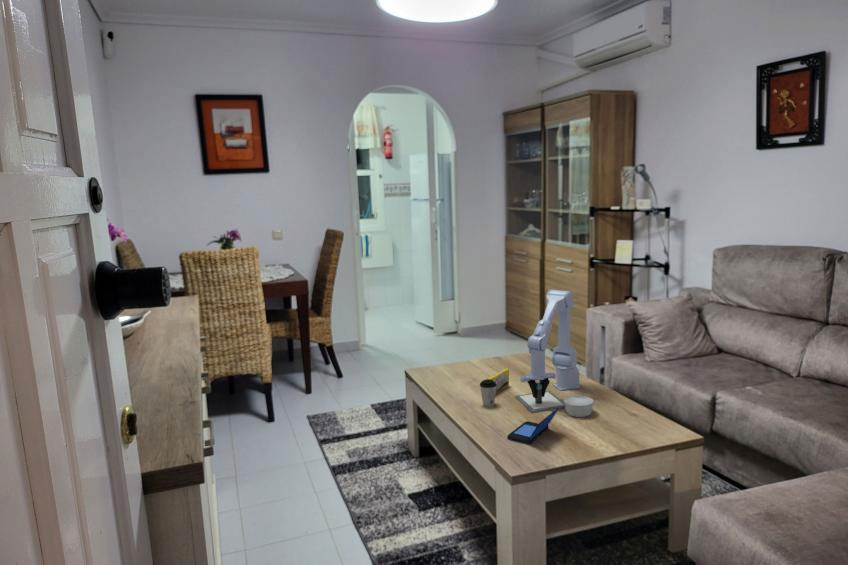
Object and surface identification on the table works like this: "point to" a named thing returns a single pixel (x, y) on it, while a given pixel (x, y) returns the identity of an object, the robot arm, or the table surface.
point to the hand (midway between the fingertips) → (538, 396)
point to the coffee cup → (488, 392)
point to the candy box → (501, 380)
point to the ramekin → (578, 405)
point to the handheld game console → (531, 430)
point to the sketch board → (547, 403)
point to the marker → (539, 393)
